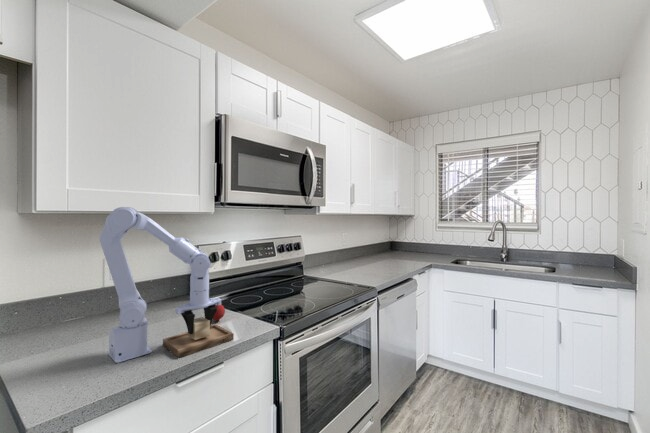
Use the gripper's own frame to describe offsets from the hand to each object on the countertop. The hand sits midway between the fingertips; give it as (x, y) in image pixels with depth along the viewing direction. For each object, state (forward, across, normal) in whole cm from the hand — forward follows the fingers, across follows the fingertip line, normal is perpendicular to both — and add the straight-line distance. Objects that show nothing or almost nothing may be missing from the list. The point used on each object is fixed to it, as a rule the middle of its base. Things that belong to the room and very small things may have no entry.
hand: (199, 330), depth 101 cm
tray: (+4, 0, 0) cm, 4 cm away
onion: (+4, -14, -14) cm, 20 cm away
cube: (+2, 0, 0) cm, 2 cm away
